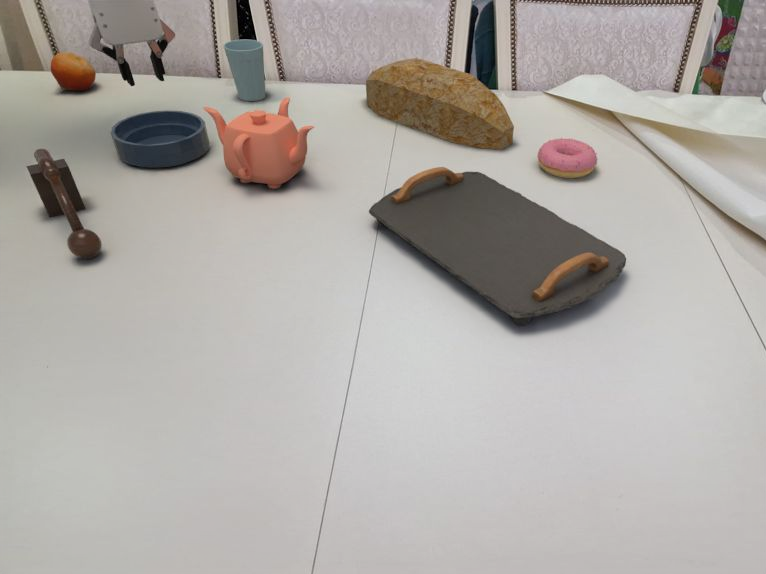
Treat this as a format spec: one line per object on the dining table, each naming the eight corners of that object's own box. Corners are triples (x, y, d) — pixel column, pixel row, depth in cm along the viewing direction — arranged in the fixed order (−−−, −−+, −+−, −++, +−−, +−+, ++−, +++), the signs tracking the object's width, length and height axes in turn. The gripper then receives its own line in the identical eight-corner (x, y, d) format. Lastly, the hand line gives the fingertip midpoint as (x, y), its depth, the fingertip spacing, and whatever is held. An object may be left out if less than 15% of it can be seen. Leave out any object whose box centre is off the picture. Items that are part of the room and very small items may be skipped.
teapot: (216, 166, 108) (201, 102, 100) (296, 153, 113) (288, 92, 106) (235, 203, 98) (221, 136, 91) (322, 187, 104) (314, 122, 96)
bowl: (114, 174, 104) (105, 148, 101) (124, 137, 114) (116, 113, 111) (209, 166, 107) (203, 141, 104) (210, 131, 118) (205, 108, 115)
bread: (352, 106, 131) (349, 56, 124) (387, 93, 138) (385, 45, 131) (490, 156, 116) (494, 102, 109) (521, 138, 123) (527, 87, 116)
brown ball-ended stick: (109, 258, 85) (85, 200, 79) (77, 267, 84) (50, 208, 78) (76, 198, 97) (53, 143, 91) (48, 205, 95) (22, 149, 89)
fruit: (47, 77, 131) (56, 41, 127) (90, 94, 136) (99, 60, 132) (43, 90, 125) (52, 53, 122) (87, 107, 130) (97, 72, 127)
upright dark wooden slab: (85, 208, 95) (68, 166, 90) (49, 217, 93) (29, 174, 88) (81, 200, 97) (64, 158, 92) (45, 208, 94) (26, 165, 90)
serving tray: (355, 217, 97) (352, 181, 93) (466, 178, 109) (468, 144, 104) (529, 347, 76) (535, 307, 72) (642, 281, 88) (653, 244, 84)
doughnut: (605, 167, 115) (610, 145, 112) (576, 187, 108) (580, 165, 105) (555, 150, 119) (558, 129, 117) (524, 168, 113) (527, 147, 110)
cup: (278, 95, 133) (270, 44, 126) (251, 106, 128) (241, 53, 121) (254, 87, 136) (244, 37, 129) (226, 97, 131) (215, 45, 124)
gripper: (157, -41, 108) (185, 68, 120) (50, -33, 100) (91, 83, 112) (171, -33, 103) (198, 79, 116) (60, -23, 96) (101, 96, 108)
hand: (145, 80), depth 114 cm, fingers open, 4 cm apart
